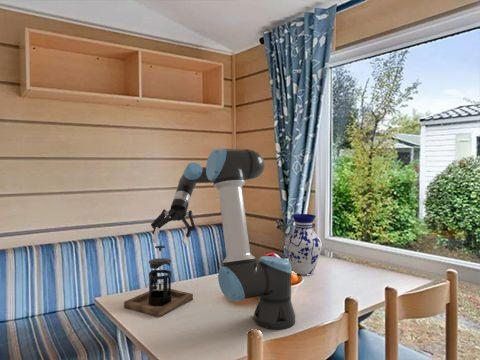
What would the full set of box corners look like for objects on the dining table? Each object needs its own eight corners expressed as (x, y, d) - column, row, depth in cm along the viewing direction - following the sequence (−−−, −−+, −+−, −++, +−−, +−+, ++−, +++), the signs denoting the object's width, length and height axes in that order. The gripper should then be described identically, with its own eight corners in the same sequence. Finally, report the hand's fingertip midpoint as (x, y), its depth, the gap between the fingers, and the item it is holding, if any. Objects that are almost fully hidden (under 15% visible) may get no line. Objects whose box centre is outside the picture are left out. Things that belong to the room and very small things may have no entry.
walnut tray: (193, 299, 162) (193, 293, 162) (159, 317, 144) (159, 310, 144) (159, 292, 171) (159, 286, 171) (124, 307, 153) (124, 301, 153)
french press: (177, 303, 156) (177, 246, 155) (155, 308, 150) (155, 250, 149) (162, 295, 165) (162, 241, 164) (142, 300, 159) (142, 244, 158)
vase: (321, 279, 191) (322, 219, 189) (282, 276, 195) (283, 217, 193) (321, 268, 210) (322, 213, 208) (285, 266, 213) (286, 212, 212)
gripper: (208, 208, 180) (198, 248, 166) (157, 207, 185) (144, 245, 171) (205, 198, 175) (194, 238, 161) (153, 197, 179) (138, 235, 166)
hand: (168, 242), depth 166 cm, fingers open, 13 cm apart
